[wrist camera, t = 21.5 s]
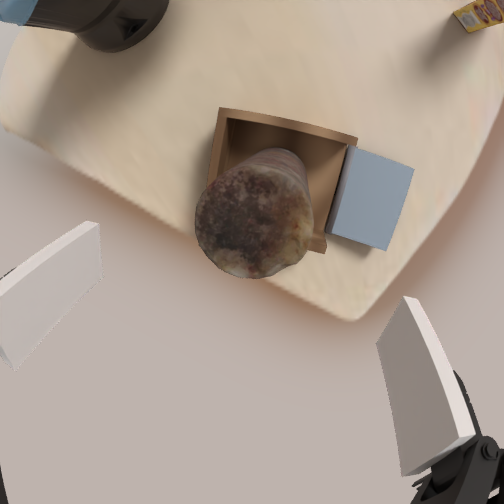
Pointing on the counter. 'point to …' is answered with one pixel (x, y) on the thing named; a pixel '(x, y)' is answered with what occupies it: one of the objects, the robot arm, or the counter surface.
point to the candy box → (481, 14)
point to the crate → (289, 137)
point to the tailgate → (369, 198)
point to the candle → (257, 215)
